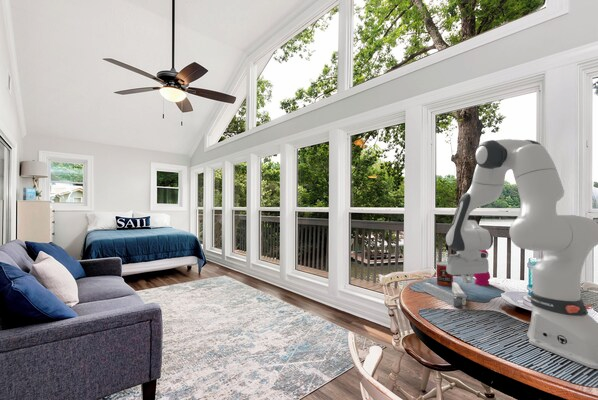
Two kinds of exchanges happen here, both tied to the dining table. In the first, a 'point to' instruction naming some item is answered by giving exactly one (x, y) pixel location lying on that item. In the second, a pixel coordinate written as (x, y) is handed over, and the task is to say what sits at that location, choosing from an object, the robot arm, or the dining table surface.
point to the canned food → (443, 275)
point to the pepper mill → (482, 276)
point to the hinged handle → (459, 292)
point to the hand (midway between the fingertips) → (467, 283)
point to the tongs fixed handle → (443, 295)
